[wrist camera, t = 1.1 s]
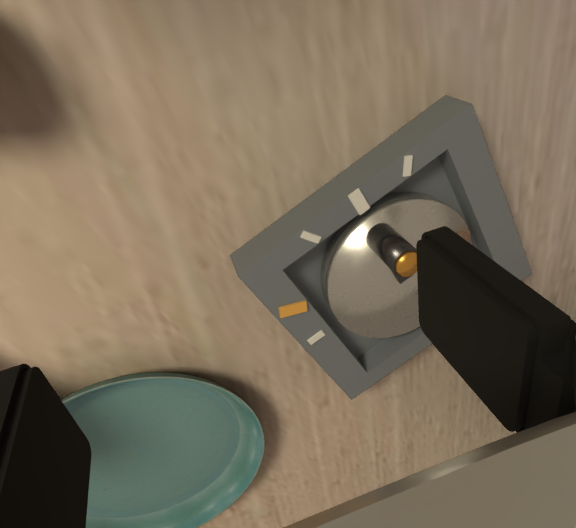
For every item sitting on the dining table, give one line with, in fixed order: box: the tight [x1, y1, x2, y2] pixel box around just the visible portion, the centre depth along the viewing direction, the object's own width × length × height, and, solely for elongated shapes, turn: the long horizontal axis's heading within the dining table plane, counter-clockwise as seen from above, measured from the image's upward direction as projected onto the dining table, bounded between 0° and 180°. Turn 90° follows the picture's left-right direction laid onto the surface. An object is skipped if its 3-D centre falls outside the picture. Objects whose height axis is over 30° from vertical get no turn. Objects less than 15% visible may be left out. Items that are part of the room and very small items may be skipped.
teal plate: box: [61, 372, 265, 528], centre depth 46 cm, size 24×24×3 cm
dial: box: [320, 192, 472, 338], centre depth 40 cm, size 14×14×7 cm
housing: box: [230, 95, 532, 400], centre depth 42 cm, size 22×20×4 cm
